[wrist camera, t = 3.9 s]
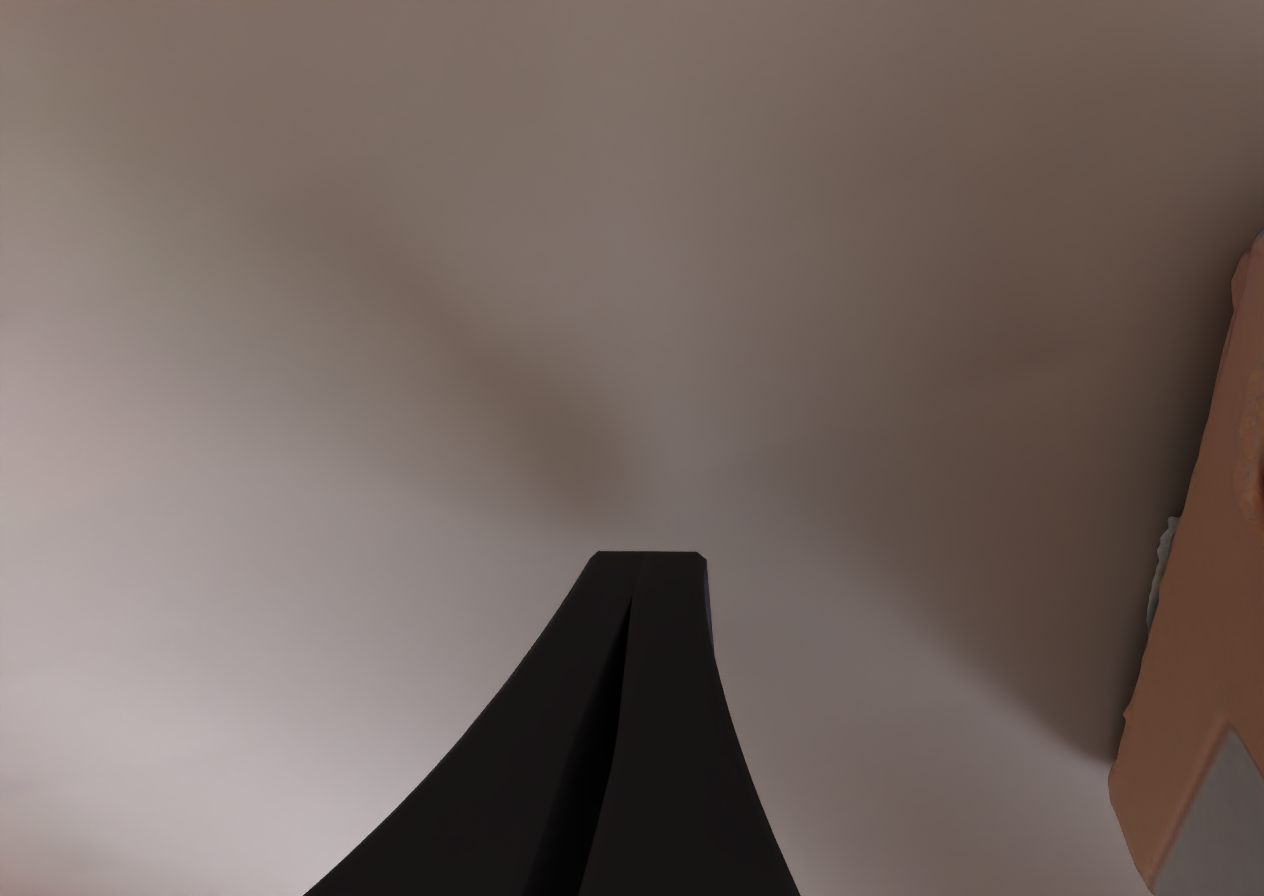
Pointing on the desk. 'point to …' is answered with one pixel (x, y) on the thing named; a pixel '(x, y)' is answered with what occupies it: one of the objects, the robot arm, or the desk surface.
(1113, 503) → the desk surface
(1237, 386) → the electronic device
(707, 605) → the robot arm
